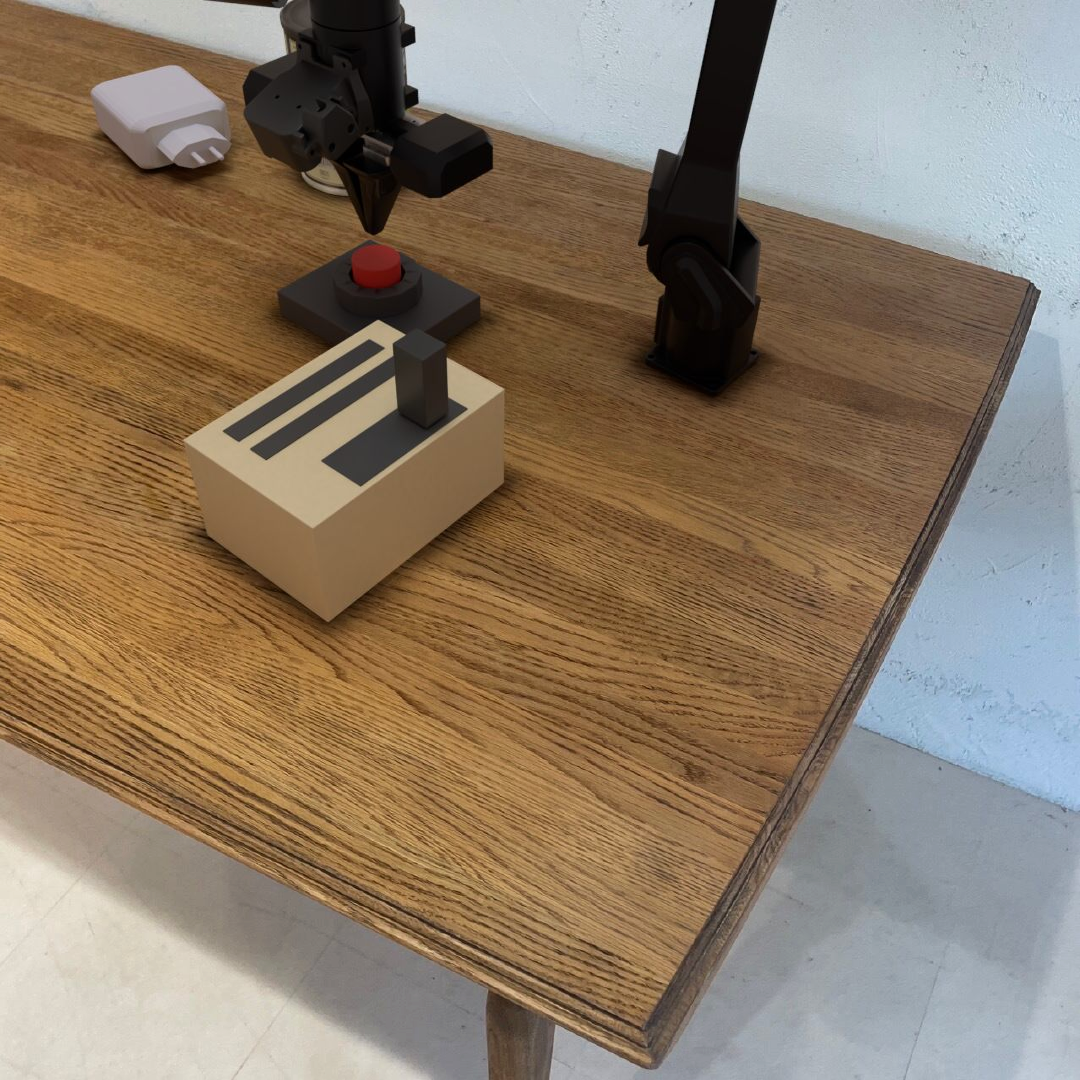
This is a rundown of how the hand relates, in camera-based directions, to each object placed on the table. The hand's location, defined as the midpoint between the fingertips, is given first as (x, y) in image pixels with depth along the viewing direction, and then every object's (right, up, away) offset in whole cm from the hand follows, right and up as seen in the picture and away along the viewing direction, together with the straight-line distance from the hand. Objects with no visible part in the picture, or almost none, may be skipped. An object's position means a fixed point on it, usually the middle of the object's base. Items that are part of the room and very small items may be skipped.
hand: (374, 232), depth 83 cm
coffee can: (-5, +11, +21) cm, 25 cm away
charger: (-21, +13, +22) cm, 34 cm away
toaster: (0, -21, -9) cm, 23 cm away
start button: (0, -3, +3) cm, 4 cm away
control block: (0, -5, +5) cm, 8 cm away
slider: (+5, -15, -15) cm, 22 cm away
